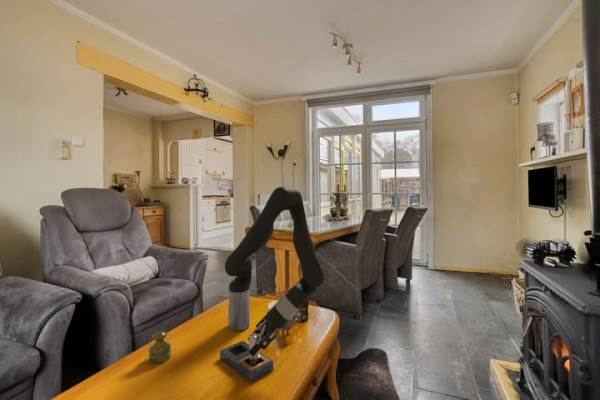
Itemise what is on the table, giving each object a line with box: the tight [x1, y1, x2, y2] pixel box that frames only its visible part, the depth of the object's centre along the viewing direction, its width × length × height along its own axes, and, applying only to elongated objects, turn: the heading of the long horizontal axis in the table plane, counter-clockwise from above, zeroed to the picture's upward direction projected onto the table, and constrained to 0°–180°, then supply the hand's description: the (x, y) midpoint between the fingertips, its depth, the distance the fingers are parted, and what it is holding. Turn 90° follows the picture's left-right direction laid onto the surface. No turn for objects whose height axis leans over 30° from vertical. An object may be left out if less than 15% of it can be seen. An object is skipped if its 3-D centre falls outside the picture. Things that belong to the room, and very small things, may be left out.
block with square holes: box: [219, 340, 274, 384], centre depth 103 cm, size 19×10×3 cm, turn 45°
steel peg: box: [248, 332, 260, 367], centre depth 99 cm, size 4×4×12 cm
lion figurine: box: [281, 318, 297, 338], centre depth 126 cm, size 15×5×9 cm, turn 37°
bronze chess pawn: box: [148, 330, 172, 365], centre depth 105 cm, size 7×7×10 cm
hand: (250, 347), depth 99 cm, fingers open, 8 cm apart
